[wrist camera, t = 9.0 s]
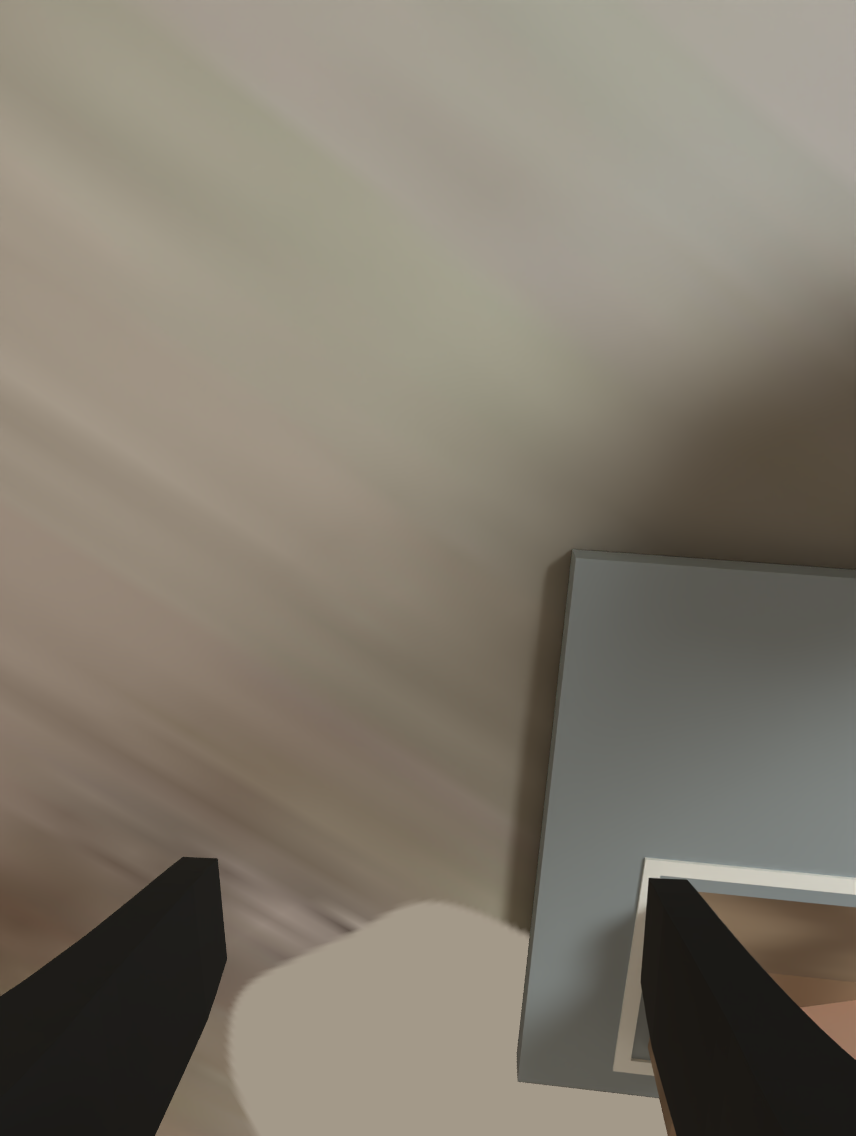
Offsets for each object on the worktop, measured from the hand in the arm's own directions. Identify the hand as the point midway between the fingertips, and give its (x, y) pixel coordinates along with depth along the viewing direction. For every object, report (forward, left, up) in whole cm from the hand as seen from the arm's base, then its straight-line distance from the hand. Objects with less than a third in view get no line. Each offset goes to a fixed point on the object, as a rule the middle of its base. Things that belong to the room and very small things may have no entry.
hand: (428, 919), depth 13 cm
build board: (-9, +5, -10) cm, 15 cm away
